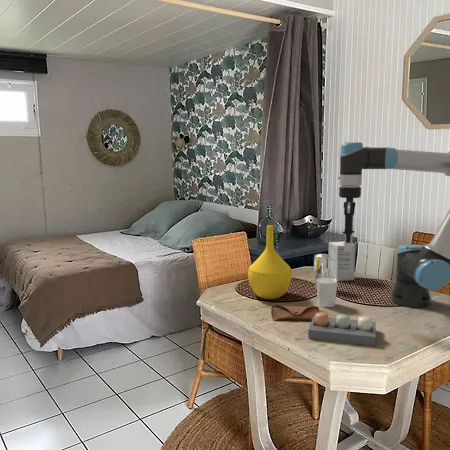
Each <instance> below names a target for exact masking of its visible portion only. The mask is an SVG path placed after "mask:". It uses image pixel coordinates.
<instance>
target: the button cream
mask: <svg viewBox="0 0 450 450" xmlns="http://www.w3.org/2000/svg"><path fill="white" fill-rule="evenodd" d="M357 320H358V329H357V330H360V331H370V332H371V328H372V322H373V319H372V317H370V316H365V315H363V316H359V317H358V318H357Z"/></svg>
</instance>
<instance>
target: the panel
mask: <svg viewBox="0 0 450 450" xmlns="http://www.w3.org/2000/svg"><path fill="white" fill-rule="evenodd" d="M376 323H377V322H376V321H372V328H371V332H370V331H360V330H357V329H358V319H351V318H350V326H349V329H341V328H336V317H331V316H330V317H329V316H328V327H322V326H315V316H313V318H312V321H311V322H310V324H309V327H308V333H307V335H308V336H307V338H308V339H309V340H310V339H312V340H320V341H327V342H328V341H329V342H335V343H336V342H337V343H345V344H346V343H348V344H354V345H355V344H356V345H363V346H364V345H365V346H372V347H376V338H377V337H376V335H377V334H376V332H377V329H376V327H377V325H376Z"/></svg>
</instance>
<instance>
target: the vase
mask: <svg viewBox="0 0 450 450" xmlns="http://www.w3.org/2000/svg"><path fill="white" fill-rule="evenodd" d="M265 241H266V243H265V244H266V245H265V249H264V250H263V252H262V253H261V254H260V256H258V258H257V259H256V260H255V261H254V262H253V263H252V264H251V265H250V266H249V267H248V272H247V278H248V281H249V285H250V288H251V290H252V291H253V293H254V294H256V295H257V296H258V297H259V298H261V299H265V300H274V299H279V298H281V297H282V296H284V295H285V294H286V292H287V290H289V287H290V286H291V282H292V279H293V274H292V268H291V266H290V265H289V264H288V263H287V262H286V261H284V259H283V258H282V257H281V255H279V253H278V252H277V251H276V249H275V246H274V243H275V241H274V225H271V224H270V225H267V226H266V240H265Z"/></svg>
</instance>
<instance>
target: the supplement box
mask: <svg viewBox="0 0 450 450" xmlns="http://www.w3.org/2000/svg"><path fill="white" fill-rule="evenodd" d="M328 255H330V272H329V277H328V278H333V279H336V280H337V282H343V281H344V282H346V281H354V280H355V267H356V266H355V264H356V244H353V243H352V252H351V251H344V240H343V241H329V242H328Z"/></svg>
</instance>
